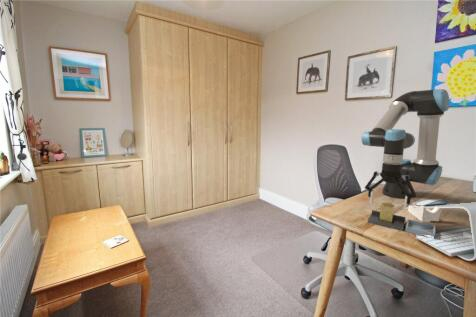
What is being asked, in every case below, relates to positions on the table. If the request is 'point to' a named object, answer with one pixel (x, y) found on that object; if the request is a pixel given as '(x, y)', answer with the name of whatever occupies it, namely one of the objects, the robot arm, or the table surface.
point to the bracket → (425, 213)
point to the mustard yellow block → (387, 212)
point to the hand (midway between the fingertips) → (387, 207)
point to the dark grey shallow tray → (397, 220)
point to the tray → (419, 228)
